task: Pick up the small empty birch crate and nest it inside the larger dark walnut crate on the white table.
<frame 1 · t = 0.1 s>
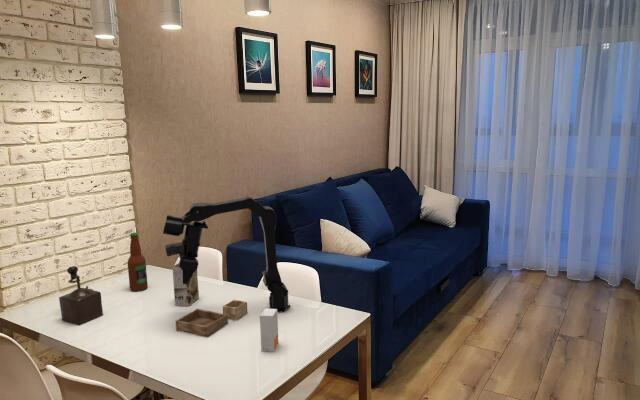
hand: (184, 279, 174), 15 cm above the table, tool pointing down, fingers open, 9 cm apart
bottle: (139, 289, 211), on the table
manual coffee grinder: (79, 316, 183), on the table
skincare box: (270, 348, 155), on the table
big crate: (202, 327, 171), on the table
coffee box: (187, 302, 195), on the table
small crate: (235, 315, 180), on the table
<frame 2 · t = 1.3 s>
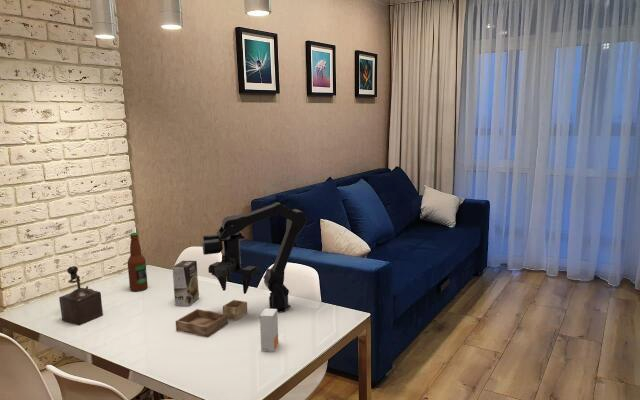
hand: (234, 292, 179), 9 cm above the table, tool pointing down, fingers open, 9 cm apart
nothing on the table moved.
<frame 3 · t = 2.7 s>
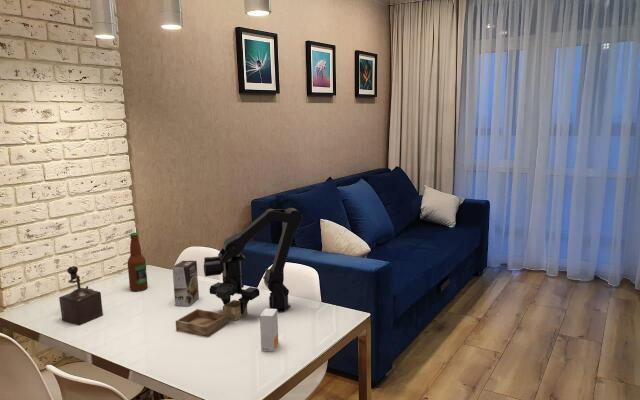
hand: (235, 312, 180), 1 cm above the table, tool pointing down, fingers closed on small crate, 6 cm apart
small crate: (235, 315, 180), on the table, touching gripper
everything else where it was.
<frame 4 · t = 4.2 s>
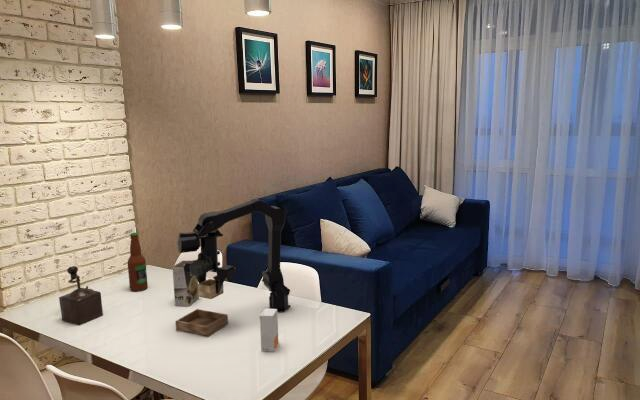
hand: (210, 292, 172), 12 cm above the table, tool pointing down, fingers closed on small crate, 6 cm apart
small crate: (210, 294, 172), point 11 cm above the table, touching gripper
everything else where it was.
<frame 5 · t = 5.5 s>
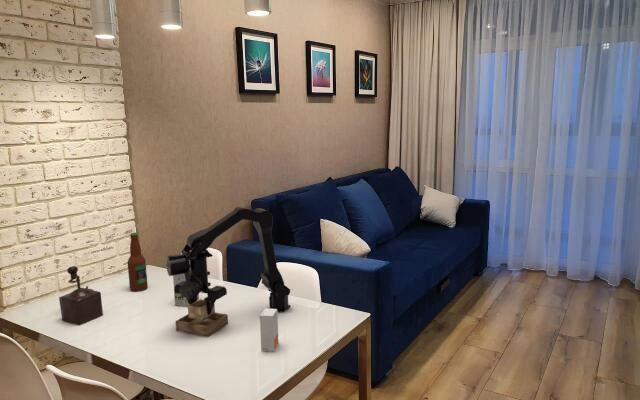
hand: (201, 313, 170), 5 cm above the table, tool pointing down, fingers closed on small crate, 6 cm apart
small crate: (202, 315, 170), point 4 cm above the table, touching gripper
everything else where it was.
when the fingers open (4 cm above the table, at t = 6.2 s): small crate drops 2 cm, resting on big crate.
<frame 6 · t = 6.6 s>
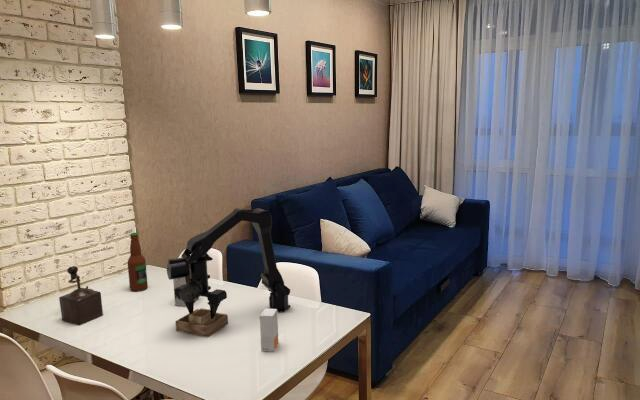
hand: (201, 316, 170), 4 cm above the table, tool pointing down, fingers open, 9 cm apart
small crate: (202, 325, 170), point 1 cm above the table, touching big crate
everything else where it was.
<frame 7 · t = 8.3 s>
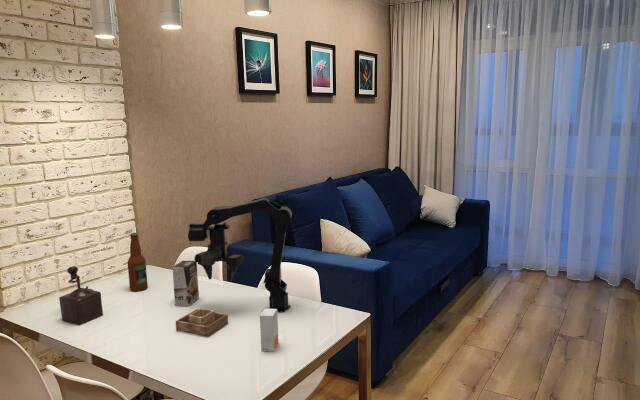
hand: (220, 280, 184), 12 cm above the table, tool pointing down, fingers open, 9 cm apart
nothing on the table moved.
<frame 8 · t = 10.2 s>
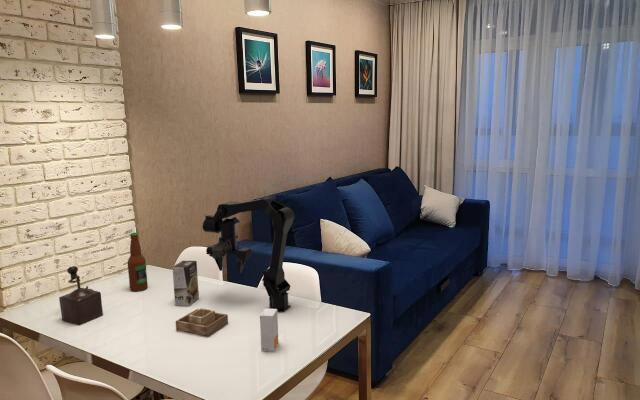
hand: (230, 272, 193), 12 cm above the table, tool pointing down, fingers open, 9 cm apart
nothing on the table moved.
at the end: small crate inside the target area on the big crate (0.0 cm from its centre), point 0.8 cm above the big crate's base; small crate tilted 0°; the gripper is holding nothing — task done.
